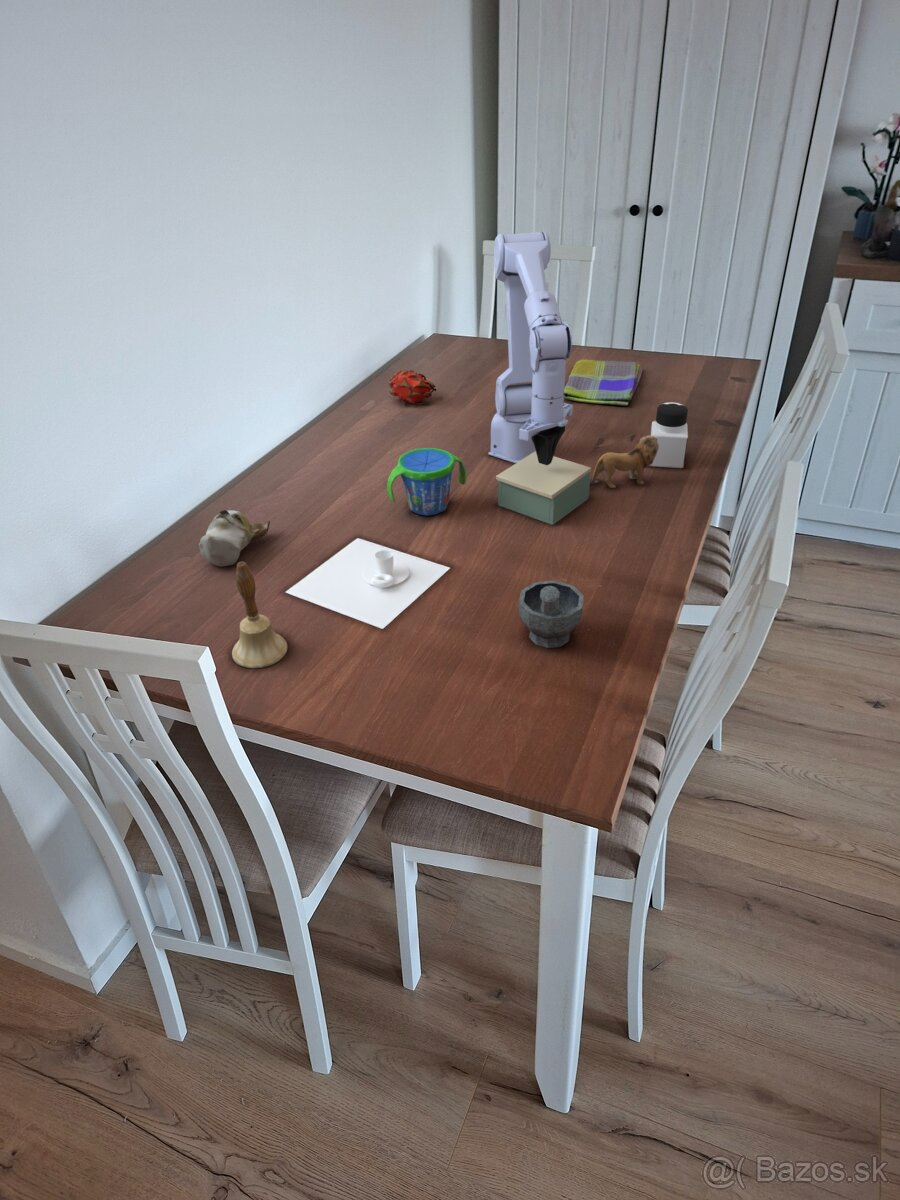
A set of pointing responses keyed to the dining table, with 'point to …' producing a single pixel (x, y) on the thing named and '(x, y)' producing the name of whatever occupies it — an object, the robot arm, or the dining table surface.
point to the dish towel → (603, 382)
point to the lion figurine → (628, 461)
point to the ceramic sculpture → (229, 537)
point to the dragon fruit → (410, 386)
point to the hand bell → (255, 629)
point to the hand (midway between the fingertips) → (544, 462)
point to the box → (544, 500)
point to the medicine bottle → (670, 435)
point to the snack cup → (426, 479)
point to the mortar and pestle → (550, 611)
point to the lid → (543, 475)
